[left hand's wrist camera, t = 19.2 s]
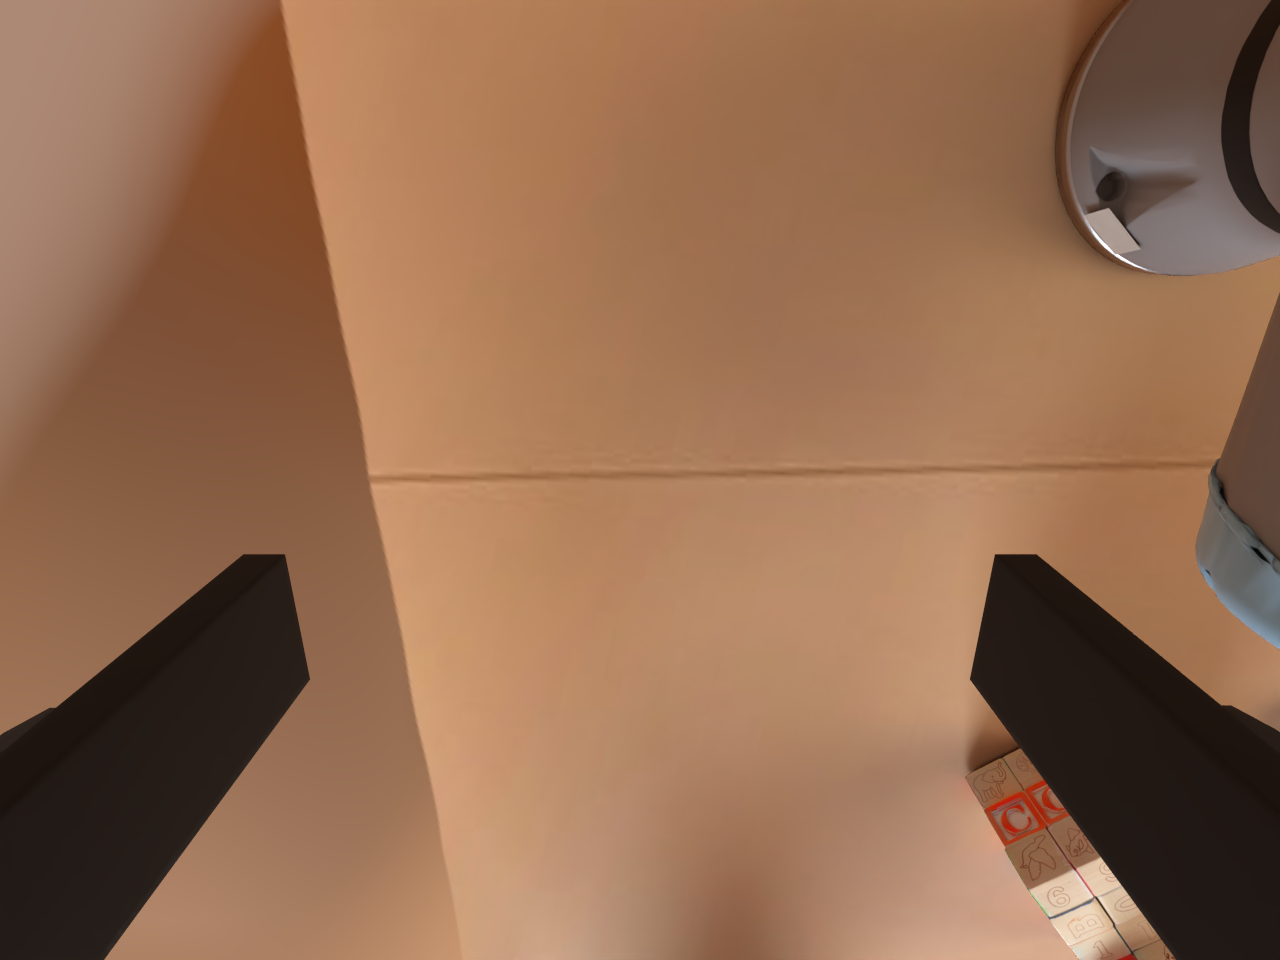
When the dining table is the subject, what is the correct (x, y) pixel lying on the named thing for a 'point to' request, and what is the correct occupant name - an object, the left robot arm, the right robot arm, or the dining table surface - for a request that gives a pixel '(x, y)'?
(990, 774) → the stack of blocks
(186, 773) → the left robot arm
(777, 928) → the dining table surface
